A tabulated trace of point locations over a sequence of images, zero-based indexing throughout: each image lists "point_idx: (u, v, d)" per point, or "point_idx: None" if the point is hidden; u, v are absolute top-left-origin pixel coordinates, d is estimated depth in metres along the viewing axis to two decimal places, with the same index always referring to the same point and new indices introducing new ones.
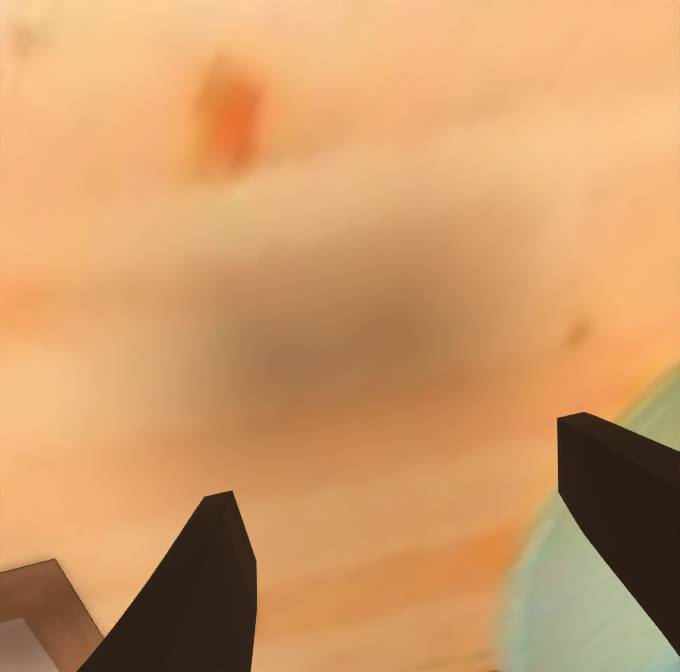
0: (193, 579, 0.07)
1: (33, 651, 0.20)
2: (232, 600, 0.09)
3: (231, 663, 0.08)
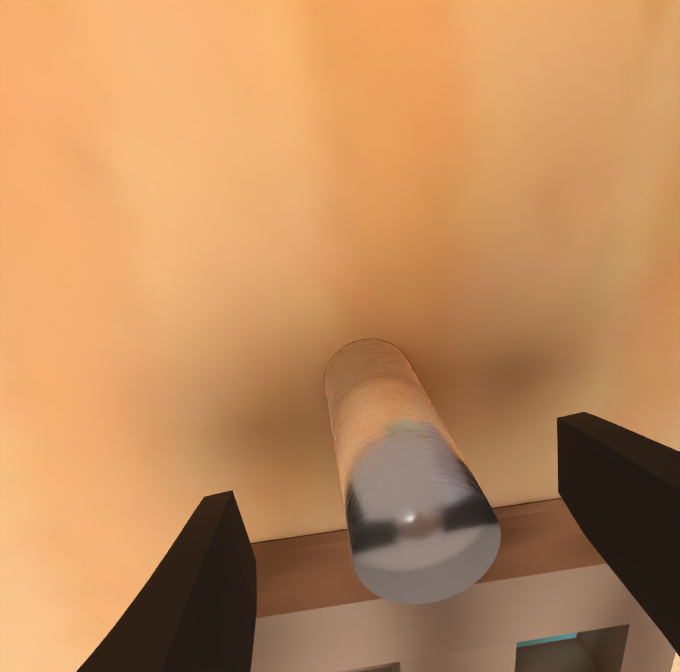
0: (193, 579, 0.07)
1: (266, 626, 0.15)
2: (232, 600, 0.09)
3: (231, 663, 0.08)
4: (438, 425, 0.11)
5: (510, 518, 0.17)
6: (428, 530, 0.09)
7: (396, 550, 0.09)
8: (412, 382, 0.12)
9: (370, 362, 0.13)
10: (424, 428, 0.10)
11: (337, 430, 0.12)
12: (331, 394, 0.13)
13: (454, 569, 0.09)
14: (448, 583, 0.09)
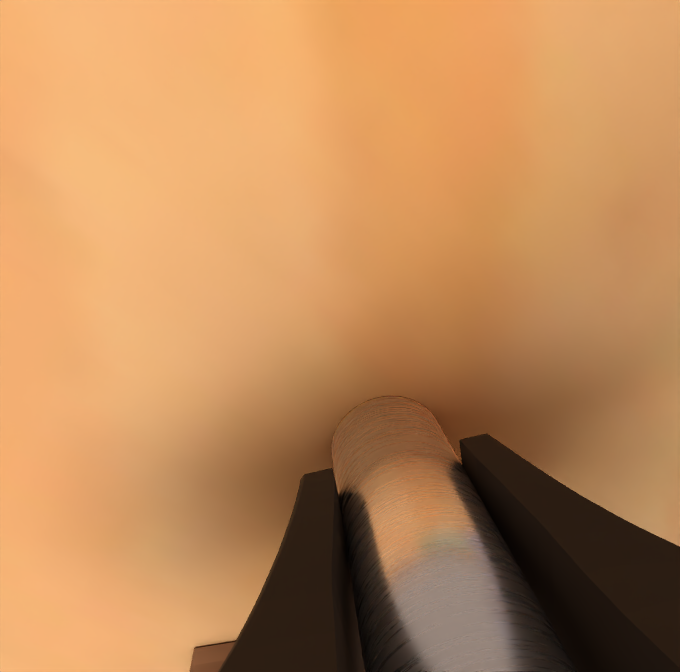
0: (328, 548, 0.07)
1: None
2: (347, 573, 0.09)
3: (354, 634, 0.08)
4: (501, 552, 0.07)
5: None
6: None
7: None
8: (453, 469, 0.09)
9: (394, 437, 0.10)
10: (486, 566, 0.07)
11: (353, 544, 0.08)
12: (342, 477, 0.10)
13: None
14: None
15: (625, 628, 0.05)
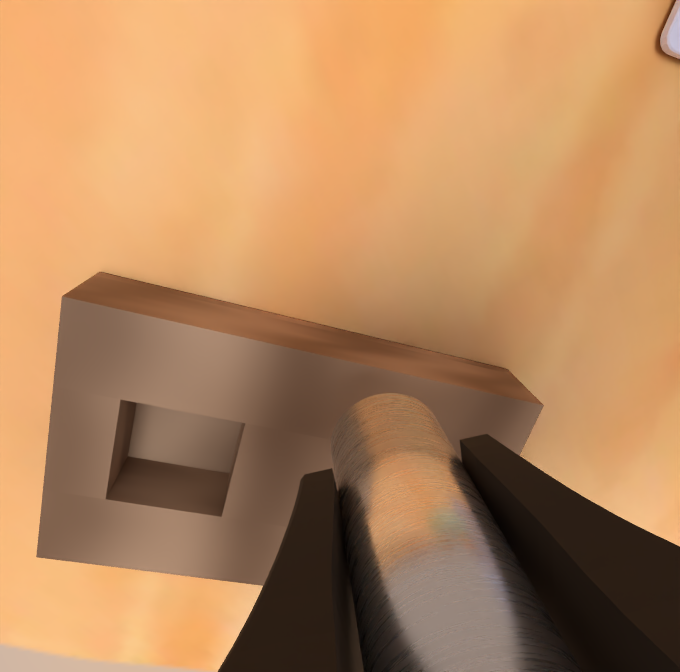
0: (328, 548, 0.07)
1: (129, 325, 0.14)
2: (347, 574, 0.09)
3: (354, 634, 0.08)
4: (498, 543, 0.07)
5: (390, 346, 0.18)
6: None
7: None
8: (451, 463, 0.09)
9: (392, 432, 0.10)
10: (483, 556, 0.07)
11: (351, 538, 0.08)
12: (340, 473, 0.10)
13: None
14: None
15: (624, 628, 0.05)
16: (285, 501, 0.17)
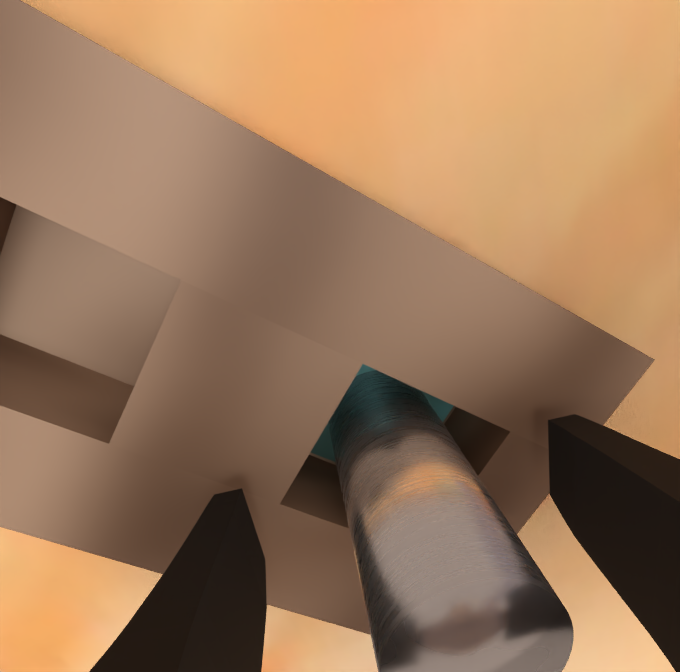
0: (206, 576, 0.07)
1: None
2: (243, 597, 0.09)
3: (243, 660, 0.08)
4: (475, 482, 0.09)
5: None
6: (479, 635, 0.07)
7: (438, 663, 0.07)
8: (435, 424, 0.10)
9: (383, 400, 0.11)
10: (461, 489, 0.08)
11: (348, 487, 0.10)
12: (338, 438, 0.11)
13: None
14: None
15: None
16: (222, 437, 0.10)
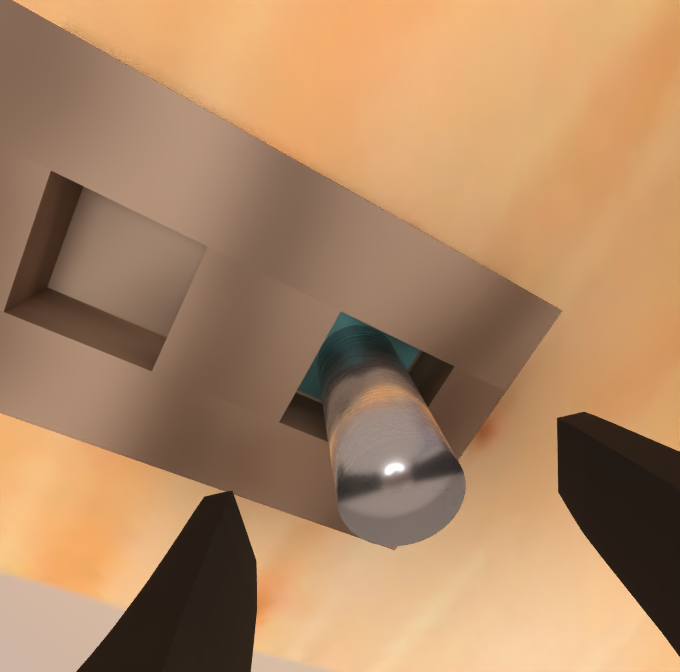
0: (193, 579, 0.07)
1: (83, 62, 0.11)
2: (232, 600, 0.09)
3: (231, 663, 0.08)
4: (414, 394, 0.12)
5: None
6: (402, 478, 0.10)
7: (375, 496, 0.10)
8: (394, 360, 0.14)
9: (356, 345, 0.15)
10: (401, 396, 0.12)
11: (326, 403, 0.13)
12: (322, 374, 0.15)
13: (427, 514, 0.11)
14: (421, 526, 0.11)
15: None
16: (236, 368, 0.14)
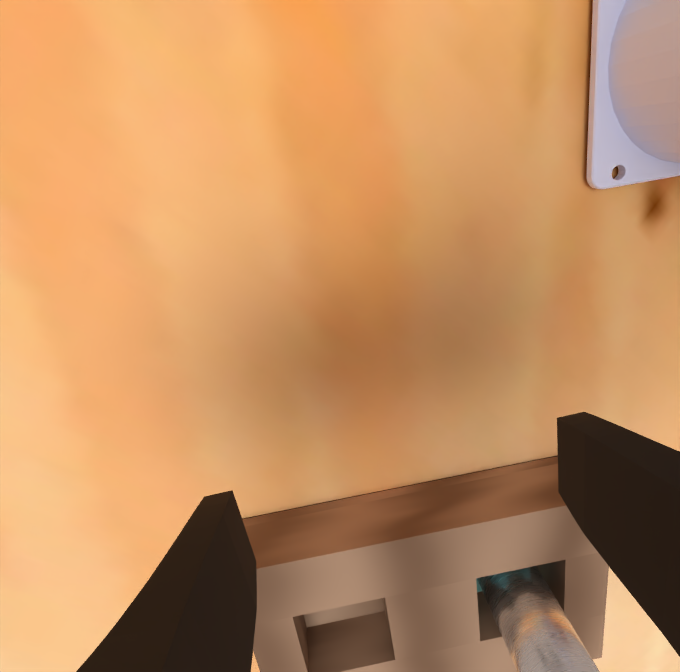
0: (193, 579, 0.07)
1: (278, 572, 0.19)
2: (232, 600, 0.09)
3: (231, 663, 0.08)
4: (552, 628, 0.19)
5: (468, 482, 0.22)
6: None
7: None
8: (525, 585, 0.20)
9: (496, 576, 0.21)
10: (545, 642, 0.18)
11: (503, 638, 0.20)
12: (486, 600, 0.22)
13: None
14: None
15: None
16: (437, 633, 0.21)
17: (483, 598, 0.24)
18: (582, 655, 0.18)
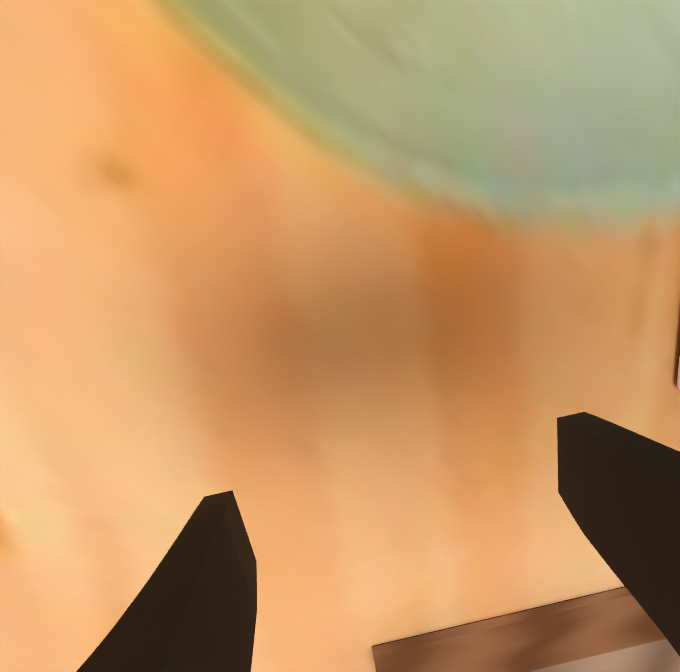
0: (193, 579, 0.07)
1: None
2: (232, 600, 0.09)
3: (231, 663, 0.08)
4: None
5: (569, 611, 0.26)
6: None
7: None
8: None
9: None
10: None
11: None
12: None
13: None
14: None
15: None
16: None
17: None
18: None
